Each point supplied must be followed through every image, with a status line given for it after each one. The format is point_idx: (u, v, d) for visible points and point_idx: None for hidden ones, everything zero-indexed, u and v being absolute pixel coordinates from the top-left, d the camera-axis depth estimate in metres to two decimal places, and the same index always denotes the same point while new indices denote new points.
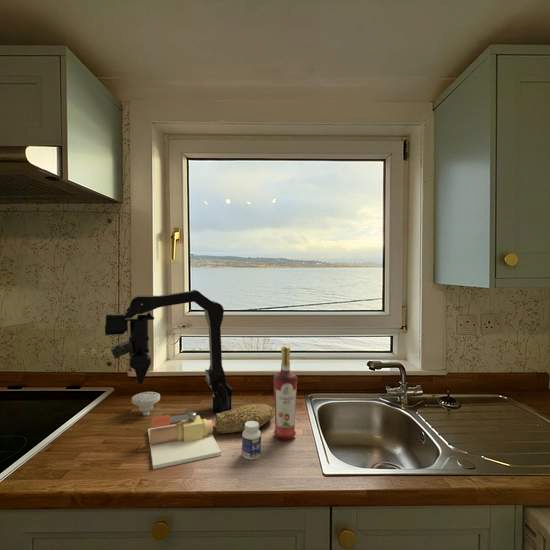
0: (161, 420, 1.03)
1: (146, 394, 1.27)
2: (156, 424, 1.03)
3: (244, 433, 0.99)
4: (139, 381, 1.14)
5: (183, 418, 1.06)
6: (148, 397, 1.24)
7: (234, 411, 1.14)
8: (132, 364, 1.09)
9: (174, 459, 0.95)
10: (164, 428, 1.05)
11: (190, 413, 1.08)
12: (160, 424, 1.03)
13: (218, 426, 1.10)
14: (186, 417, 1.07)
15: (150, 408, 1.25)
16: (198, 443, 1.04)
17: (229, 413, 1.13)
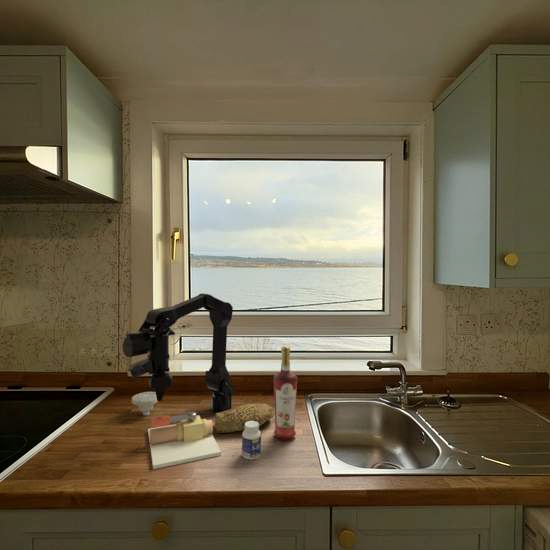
0: (161, 420, 1.03)
1: (146, 394, 1.27)
2: (156, 424, 1.03)
3: (244, 433, 0.99)
4: (158, 398, 1.09)
5: (183, 418, 1.06)
6: (148, 397, 1.24)
7: (234, 411, 1.14)
8: (153, 386, 1.00)
9: (174, 459, 0.95)
10: (164, 428, 1.05)
11: (190, 413, 1.08)
12: (160, 424, 1.03)
13: (218, 425, 1.10)
14: (186, 417, 1.07)
15: (150, 408, 1.25)
16: (198, 443, 1.04)
17: (229, 413, 1.13)
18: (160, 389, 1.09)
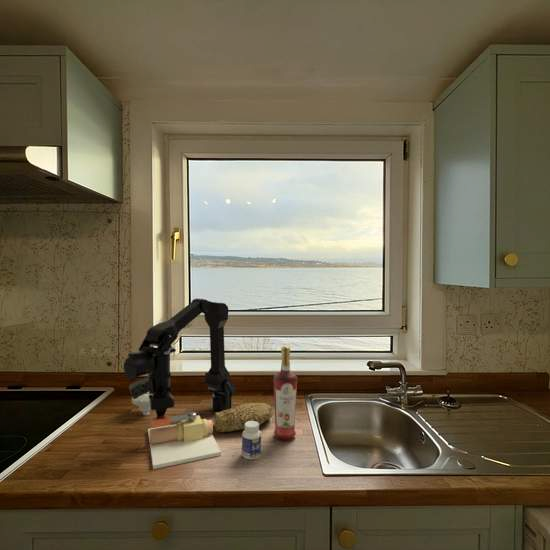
0: (161, 420, 1.03)
1: (146, 394, 1.27)
2: (156, 424, 1.03)
3: (244, 433, 0.99)
4: None
5: (183, 418, 1.06)
6: (148, 397, 1.24)
7: (233, 410, 1.15)
8: (154, 407, 0.97)
9: (174, 459, 0.95)
10: (164, 428, 1.05)
11: (190, 413, 1.08)
12: (160, 424, 1.03)
13: (217, 425, 1.11)
14: (186, 417, 1.07)
15: (150, 408, 1.25)
16: (198, 443, 1.04)
17: (228, 412, 1.14)
18: (161, 409, 1.05)
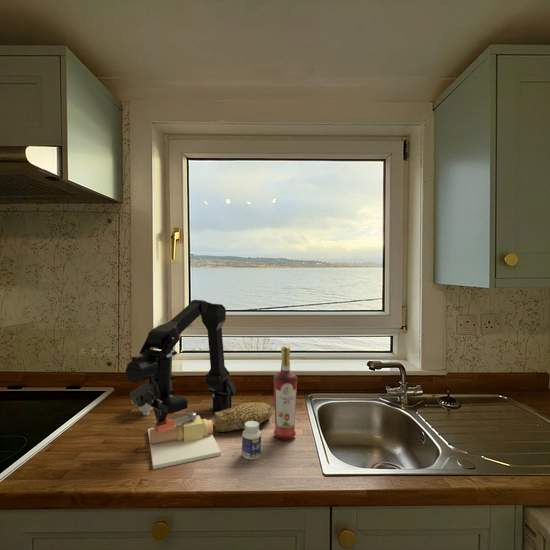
0: (166, 424, 1.01)
1: None
2: (162, 429, 1.00)
3: (244, 433, 0.99)
4: None
5: (185, 419, 1.06)
6: None
7: (233, 409, 1.15)
8: (171, 411, 0.95)
9: (174, 459, 0.95)
10: None
11: (190, 413, 1.08)
12: (165, 429, 1.01)
13: (217, 424, 1.11)
14: (188, 418, 1.06)
15: (150, 408, 1.25)
16: (198, 443, 1.04)
17: (228, 411, 1.14)
18: (163, 413, 1.02)
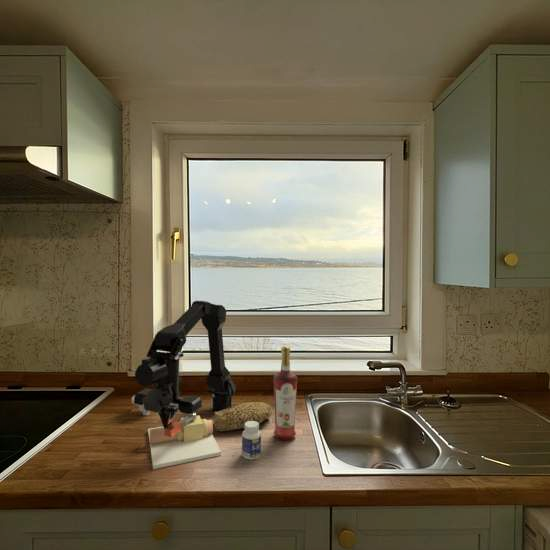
0: (177, 427, 0.99)
1: None
2: (173, 432, 0.98)
3: (244, 433, 0.99)
4: None
5: (189, 420, 1.05)
6: None
7: (232, 409, 1.15)
8: (192, 411, 0.95)
9: (174, 459, 0.95)
10: None
11: None
12: (176, 432, 0.99)
13: (217, 424, 1.11)
14: (190, 418, 1.06)
15: None
16: (198, 443, 1.04)
17: (227, 411, 1.14)
18: (171, 416, 1.00)
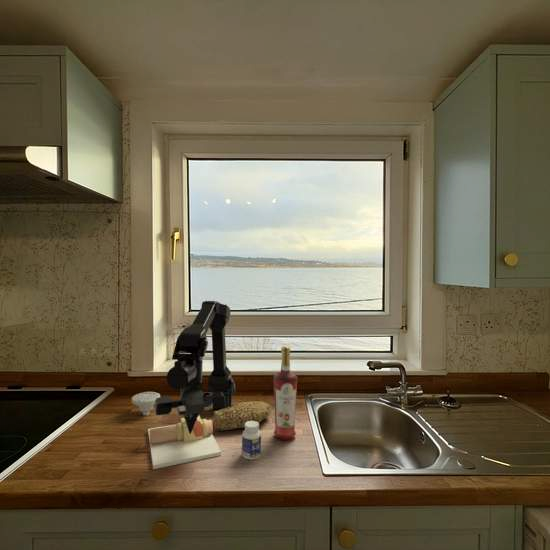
0: None
1: (146, 394, 1.27)
2: None
3: (244, 433, 0.99)
4: None
5: None
6: (148, 397, 1.24)
7: (232, 408, 1.16)
8: None
9: (174, 459, 0.95)
10: (164, 428, 1.05)
11: None
12: None
13: (216, 423, 1.12)
14: None
15: (150, 408, 1.25)
16: (198, 443, 1.04)
17: (227, 410, 1.15)
18: None
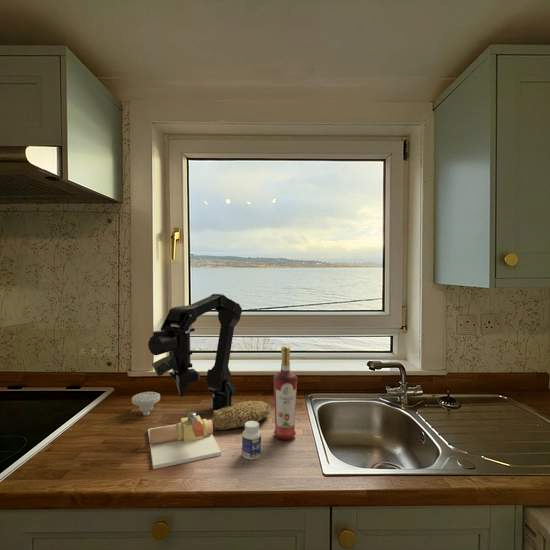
0: None
1: (146, 394, 1.27)
2: None
3: (244, 433, 0.99)
4: (181, 393, 1.12)
5: None
6: (148, 397, 1.24)
7: (231, 408, 1.16)
8: (182, 381, 1.03)
9: (174, 459, 0.95)
10: (164, 428, 1.05)
11: (191, 414, 1.07)
12: None
13: (216, 423, 1.12)
14: (195, 417, 1.07)
15: (150, 408, 1.25)
16: (198, 443, 1.04)
17: (226, 410, 1.15)
18: (183, 385, 1.11)
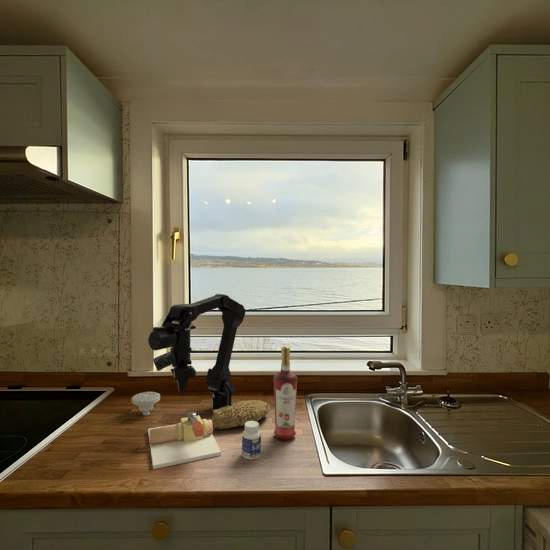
0: None
1: (146, 394, 1.27)
2: None
3: (244, 433, 0.99)
4: (180, 389, 1.14)
5: None
6: (148, 397, 1.24)
7: (231, 407, 1.17)
8: (177, 377, 1.05)
9: (174, 459, 0.95)
10: (164, 428, 1.05)
11: (191, 414, 1.07)
12: None
13: (215, 422, 1.13)
14: (195, 417, 1.07)
15: (150, 408, 1.25)
16: (198, 443, 1.04)
17: (226, 409, 1.16)
18: (182, 381, 1.13)
